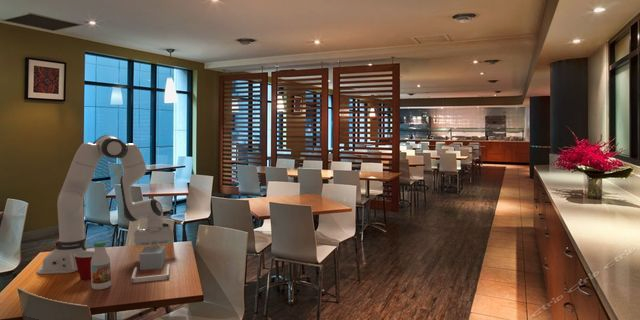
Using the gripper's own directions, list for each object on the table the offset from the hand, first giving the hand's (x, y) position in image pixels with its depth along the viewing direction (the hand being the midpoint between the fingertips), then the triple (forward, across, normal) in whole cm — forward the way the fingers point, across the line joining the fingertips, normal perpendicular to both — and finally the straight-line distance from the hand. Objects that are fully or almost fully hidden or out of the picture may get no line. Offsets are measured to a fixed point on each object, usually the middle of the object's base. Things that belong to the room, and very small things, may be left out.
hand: (154, 250), depth 238 cm
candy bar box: (-16, -43, +22) cm, 51 cm away
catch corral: (+22, 0, -16) cm, 28 cm away
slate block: (+11, 0, -5) cm, 12 cm away
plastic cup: (+20, -28, -13) cm, 37 cm away
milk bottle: (+30, -20, -23) cm, 43 cm away
